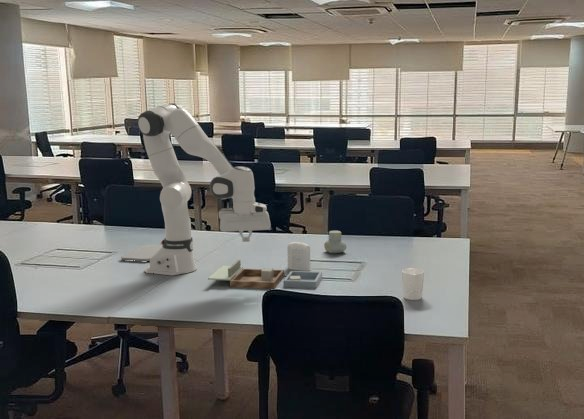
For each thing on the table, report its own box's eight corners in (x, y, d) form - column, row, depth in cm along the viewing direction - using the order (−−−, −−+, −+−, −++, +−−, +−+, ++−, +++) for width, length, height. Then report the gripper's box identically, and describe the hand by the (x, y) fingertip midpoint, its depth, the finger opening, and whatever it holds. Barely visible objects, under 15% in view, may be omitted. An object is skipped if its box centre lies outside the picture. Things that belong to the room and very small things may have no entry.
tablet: (175, 250, 319) (175, 245, 318) (149, 263, 294) (149, 259, 294) (146, 248, 323) (146, 244, 323) (118, 262, 299) (118, 257, 299)
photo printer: (312, 270, 276) (311, 242, 273) (307, 272, 272) (306, 244, 270) (291, 267, 281) (290, 240, 278) (286, 270, 277) (285, 242, 275)
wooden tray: (230, 288, 253) (229, 280, 252) (242, 275, 270) (242, 268, 270) (274, 290, 249) (274, 282, 249) (284, 276, 266) (284, 270, 266)
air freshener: (348, 253, 302) (348, 233, 300) (332, 255, 299) (332, 234, 297) (338, 248, 312) (337, 228, 310) (322, 250, 309) (322, 230, 307)
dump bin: (283, 288, 251) (283, 280, 251) (291, 277, 265) (290, 270, 264) (316, 289, 249) (316, 281, 248) (322, 279, 262) (322, 271, 262)
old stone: (290, 286, 252) (290, 278, 251) (290, 283, 256) (289, 276, 255) (300, 285, 252) (300, 278, 251) (300, 282, 256) (299, 275, 255)
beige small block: (261, 282, 257) (261, 270, 256) (264, 280, 261) (263, 268, 260) (271, 283, 256) (270, 271, 256) (273, 280, 260) (273, 268, 259)
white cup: (420, 293, 240) (421, 268, 238) (425, 300, 232) (426, 273, 231) (400, 294, 240) (400, 268, 238) (404, 301, 232) (404, 274, 230)
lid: (207, 279, 254) (207, 269, 253) (222, 266, 272) (222, 257, 271) (229, 280, 252) (229, 270, 251) (243, 267, 270) (242, 258, 269)
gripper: (217, 209, 251) (219, 244, 254) (269, 207, 252) (271, 242, 254) (218, 207, 257) (220, 240, 260) (269, 205, 258) (271, 238, 260)
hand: (246, 241), depth 257 cm, fingers closed
